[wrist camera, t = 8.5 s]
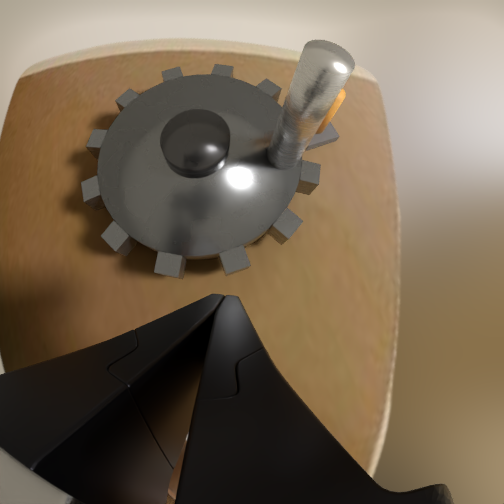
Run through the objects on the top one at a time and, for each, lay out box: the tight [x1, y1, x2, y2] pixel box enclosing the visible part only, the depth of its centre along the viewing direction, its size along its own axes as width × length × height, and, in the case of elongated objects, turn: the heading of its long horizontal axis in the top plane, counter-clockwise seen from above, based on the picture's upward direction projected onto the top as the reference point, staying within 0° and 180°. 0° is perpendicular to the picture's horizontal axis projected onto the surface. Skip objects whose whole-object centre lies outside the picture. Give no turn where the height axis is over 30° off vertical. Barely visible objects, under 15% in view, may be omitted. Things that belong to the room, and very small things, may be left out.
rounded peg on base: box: [305, 88, 346, 151], centre depth 18 cm, size 3×3×5 cm
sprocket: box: [81, 40, 355, 279], centre depth 13 cm, size 15×15×11 cm
